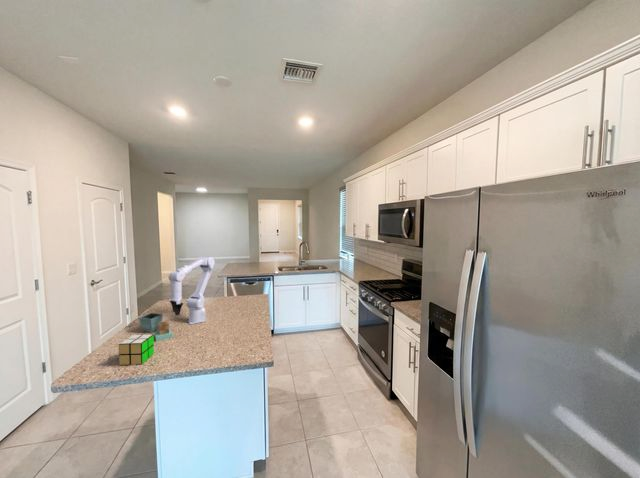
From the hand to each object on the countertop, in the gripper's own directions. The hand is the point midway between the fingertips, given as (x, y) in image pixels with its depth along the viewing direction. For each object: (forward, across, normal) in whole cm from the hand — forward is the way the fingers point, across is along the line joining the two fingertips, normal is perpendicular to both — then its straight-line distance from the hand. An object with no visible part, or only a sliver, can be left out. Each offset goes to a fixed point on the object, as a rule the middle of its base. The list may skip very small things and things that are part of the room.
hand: (176, 313), depth 155 cm
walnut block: (+8, +7, -7) cm, 13 cm away
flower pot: (+11, -8, -12) cm, 18 cm away
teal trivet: (+11, +7, -8) cm, 15 cm away
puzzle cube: (+11, +28, -20) cm, 36 cm away
